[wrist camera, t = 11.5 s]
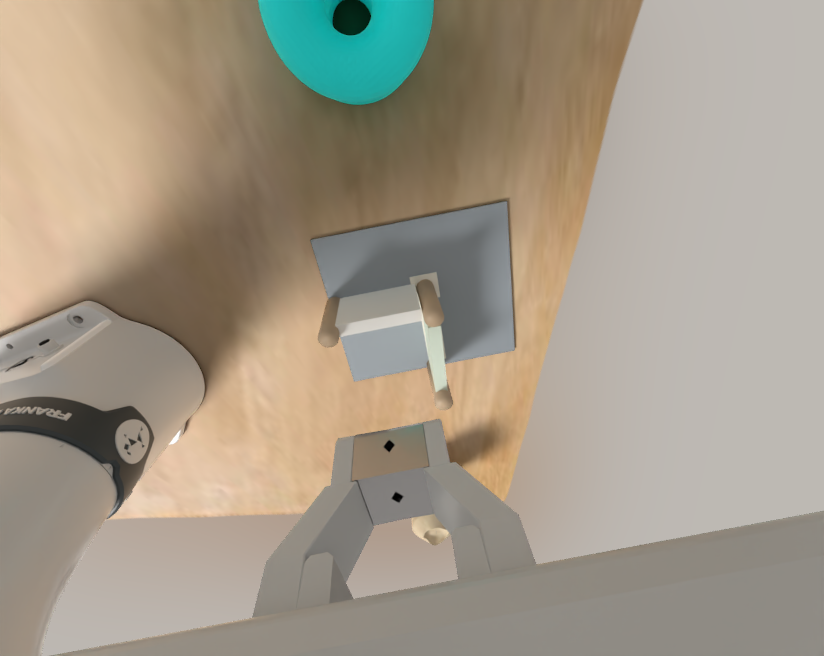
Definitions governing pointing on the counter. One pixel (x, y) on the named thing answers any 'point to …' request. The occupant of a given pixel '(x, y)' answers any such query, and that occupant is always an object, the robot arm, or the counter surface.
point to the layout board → (441, 264)
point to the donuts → (349, 45)
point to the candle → (429, 529)
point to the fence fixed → (379, 311)
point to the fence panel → (437, 368)
